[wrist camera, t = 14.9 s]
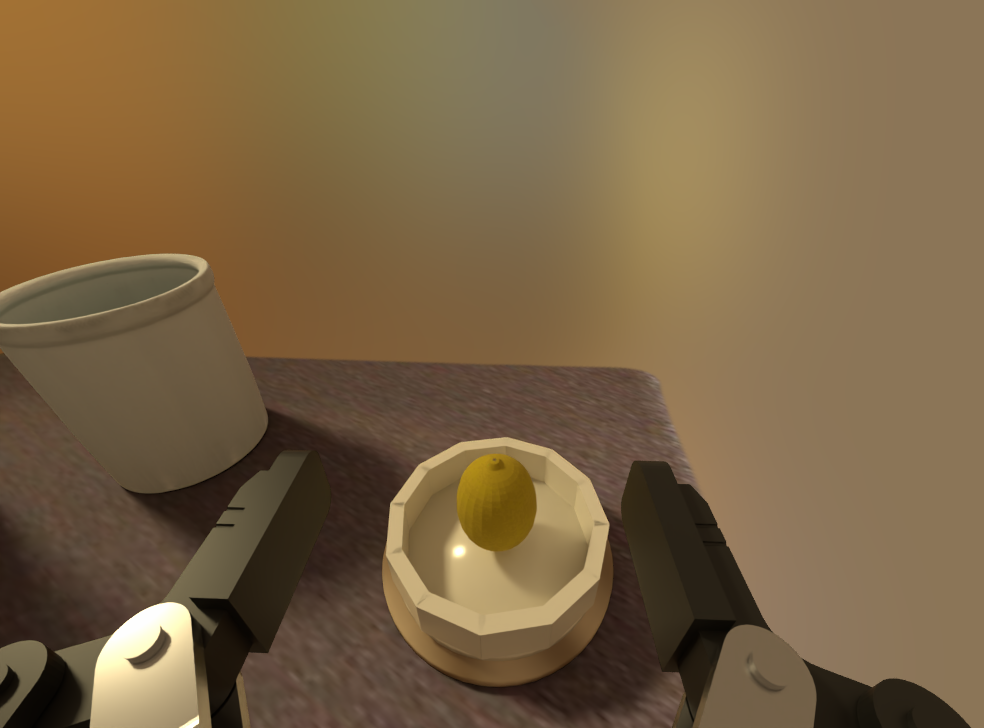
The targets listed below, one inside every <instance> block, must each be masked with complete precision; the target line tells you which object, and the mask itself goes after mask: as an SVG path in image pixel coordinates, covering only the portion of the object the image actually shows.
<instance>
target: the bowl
mask: <svg viewBox="0 0 984 728" xmlns="http://www.w3.org/2000/svg"><path fill="white" fill-rule="evenodd" d="M487 454H504V455H508V456H510V457H512V458H514V459H516V460H517V461H519V462H520V463H521V464H522V465H523V466H524V467H525V468H526V470H527V471H528V473H529V475H530V477H531V479H532V482H533V484H534V487H535V491H536V501H537V512H536V516H535V520H534V524H533V527H532V529H531V531H530V532H529V534H528V536H527V537H526V538H525V539H524V540H523V541H522V542H521V543H520V544H519V545H517V546H516V547H514V548H512V549H509V550H506V551H498V552H494V551H488V550H485V549H483V548H481V547H479V546H477V545H476V544H475V543H473V542H472V541H471V540H470V539H469V538H468V536H467V535H466V534H465V532H464V531H463V529H462V527H461V524H460V521H459V518H458V514H457V490H458V486H459V483H460V480H461V477H462V474H463V473H464V471H465V470H466V468H467V467H468V466H469V465H470V464H471V463H472V462H473V461H474V460H476V459H478V458H479V457H481V456H484V455H487ZM609 525H610V524H609V522H608V520H607V518H606V515H605V513H604V511H603V508H602V506H601V504H600V502H599V499H598V497H597V495H596V492H595V490H594V488H593V486H592V483H591V481H590V479H589V478H588V477H587V476H585V475H584V474H583V473H581V472H580V471H579V470H578V469H576V468H575V467H574V466H573V465H571V464H570V463H569V462H568V461H566V460H565V459H564V458H562V457H561V456H560V455H559V454H557V453H556V452H555V451H554V450H552V449H549V448H545V447H541V446H538V445H534V444H530V443H526V442H523V441H519V440H515V439H511V438H508V437H505V438H496V439H487V440H478V441H469V442H461V443H458V444H457V445H455V446H453V447H451V448H449V449H447V450H445V451H444V452H442V453H440V454H438V455H436V456H434V457H432V458H430V459H429V460H427V461H425V462H423V463H421V464H419V465H418V467H417V468H416V469H415V471H414V472H413V474H412V475H411V476H410V478H409V479H408V480H407V482H406V483H405V484H404V486H403V487H402V488H401V490H400V491H399V493H398V494H397V495H396V497H395V498H394V499H393V501H392V502H391V504H390V514H389V525H388V536H387V547H386V558H387V561H388V565H389V568H390V572H391V576H392V579H393V582H394V583H395V585H396V587H397V589H398V590H399V592H400V594H401V596H402V599H403V601H404V603H405V605H406V607H407V609H408V611H409V613H410V614H411V616H412V617H413V619H414V620H415V622H416V623H417V624H418V625H419V627H420V629H421V631H422V632H424V633H426V634H427V635H429V636H430V637H431V638H432V639H434V640H435V641H436V642H437V643H439V644H440V645H442V646H444V647H446V648H447V649H449V650H451V651H453V652H455V653H458V654H461V655H463V656H466V657H470V658H474V659H479V660H484V661H509V660H517V659H521V658H525V657H529V656H533V655H535V654H537V653H540V652H542V651H544V650H547V649H548V648H550V647H551V646H553V645H555V644H556V643H558V642H560V641H561V640H562V639H563V638H564V637H565V636H567V635H568V634H569V633H570V632H571V631H572V630H573V629H574V628H575V627H576V625H577V624H578V623H579V622H580V621H581V619H582V618H583V616H584V615H585V613H586V612H587V611H588V610H589V609H590V608H591V607H592V606H593V605H594V601H595V597H596V592H597V588H598V584H599V580H600V574H601V569H602V563H603V558H604V552H605V547H606V541H607V536H608V530H609Z"/></svg>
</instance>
